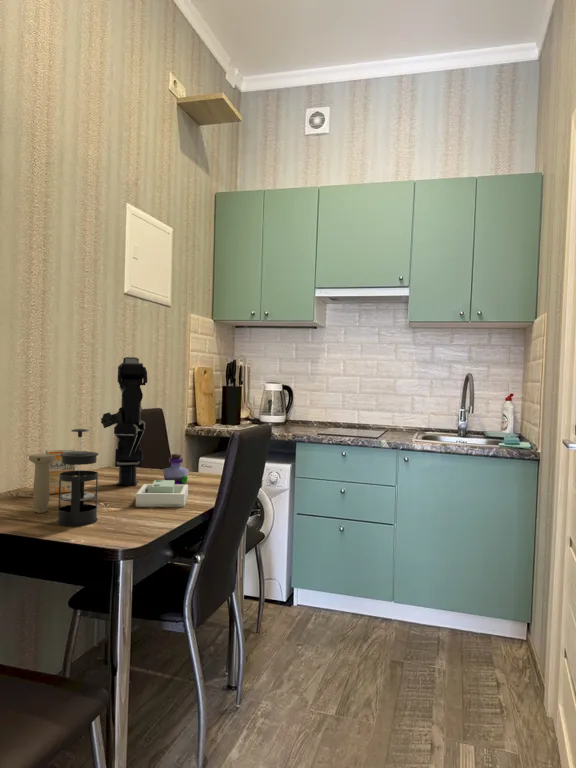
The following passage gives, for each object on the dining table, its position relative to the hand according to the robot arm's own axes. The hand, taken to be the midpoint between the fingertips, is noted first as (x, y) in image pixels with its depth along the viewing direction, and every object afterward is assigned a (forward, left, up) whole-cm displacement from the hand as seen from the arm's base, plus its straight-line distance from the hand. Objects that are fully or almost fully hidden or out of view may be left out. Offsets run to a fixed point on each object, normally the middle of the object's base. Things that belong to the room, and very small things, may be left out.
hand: (129, 455), depth 167 cm
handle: (+20, -19, -13) cm, 30 cm away
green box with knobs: (+6, +11, -12) cm, 17 cm away
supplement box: (-6, -22, -13) cm, 26 cm away
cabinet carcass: (+6, +11, -12) cm, 18 cm away
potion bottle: (-9, +13, -13) cm, 20 cm away
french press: (+30, -7, -13) cm, 33 cm away
